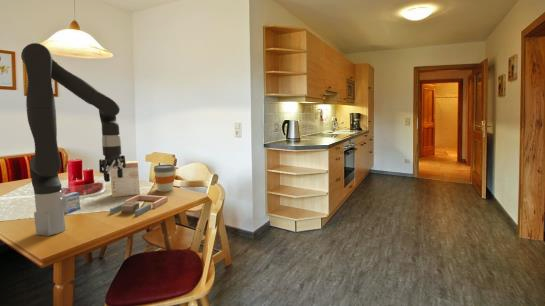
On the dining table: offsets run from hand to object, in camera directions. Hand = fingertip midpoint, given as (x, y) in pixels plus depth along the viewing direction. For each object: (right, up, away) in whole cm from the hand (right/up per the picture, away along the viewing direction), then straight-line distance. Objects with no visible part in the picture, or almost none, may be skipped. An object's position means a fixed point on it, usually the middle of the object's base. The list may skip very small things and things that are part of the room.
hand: (113, 179), depth 145 cm
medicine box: (-28, -17, +12) cm, 35 cm away
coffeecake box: (-14, -13, +42) cm, 46 cm away
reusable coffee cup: (+6, -11, +53) cm, 54 cm away
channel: (+3, -17, +12) cm, 21 cm away
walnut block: (+3, -17, +11) cm, 21 cm away
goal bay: (+5, -15, +24) cm, 29 cm away
